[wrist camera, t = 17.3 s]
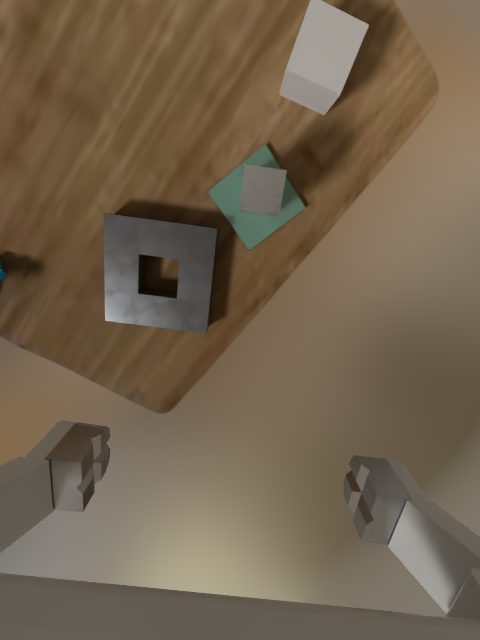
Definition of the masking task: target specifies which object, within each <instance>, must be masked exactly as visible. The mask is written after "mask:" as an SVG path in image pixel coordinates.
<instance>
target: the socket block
mask: <svg viewBox="0 0 480 640" xmlns="http://www.w3.org/2000/svg"><path fill="white" fill-rule="evenodd" d="M218 233H219V228H212V227H205V226H198V225H190V224H183V223H176V222H168V221H161V220H154V219H147V218H139V217H132V216H125V215H117V214H108V213H104V272H105V321H112V322H120V323H128V324H136V325H144V326H152V327H160V328H168V329H176V330H184V331H192V332H201V333H207V330H208V327H209V320H210V310H211V300H212V291H213V281H214V271H215V262H216V252H217V242H218ZM146 255H149V256H156V257H164V258H171V259H179V274H178V289H177V293H172V292H165V291H157V290H149V289H145V275H146Z"/></svg>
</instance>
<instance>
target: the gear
mask: <svg viewBox="0 0 480 640" xmlns="http://www.w3.org/2000/svg"><path fill="white" fill-rule="evenodd" d="M0 267H1V262H0ZM5 275H6V272H4V271H3V270H2V269H0V280H3V279H4V278H5ZM0 290H1V287H0Z"/></svg>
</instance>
